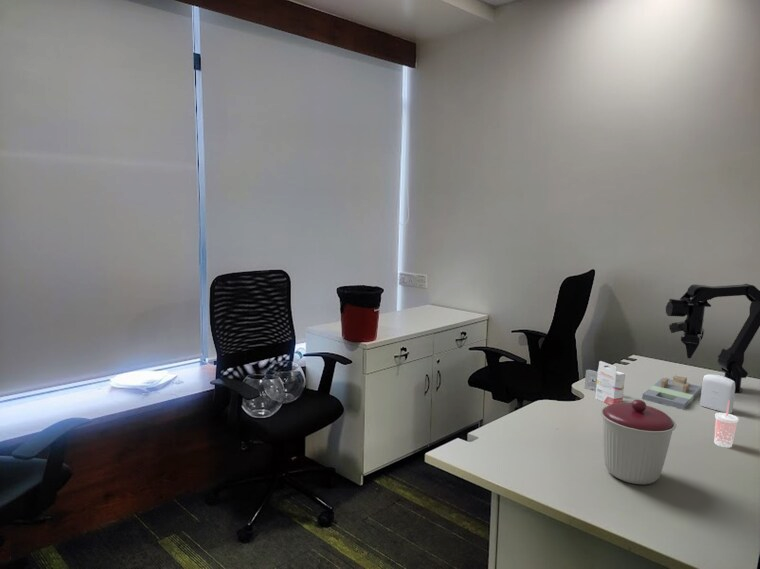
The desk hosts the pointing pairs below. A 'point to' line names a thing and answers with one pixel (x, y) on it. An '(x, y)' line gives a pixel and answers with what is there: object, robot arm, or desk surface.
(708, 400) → the photo printer
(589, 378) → the cassette
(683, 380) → the birch block
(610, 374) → the ink cartridge box
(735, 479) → the desk surface
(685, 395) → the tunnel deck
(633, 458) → the canister
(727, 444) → the beverage cup
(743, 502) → the desk surface
